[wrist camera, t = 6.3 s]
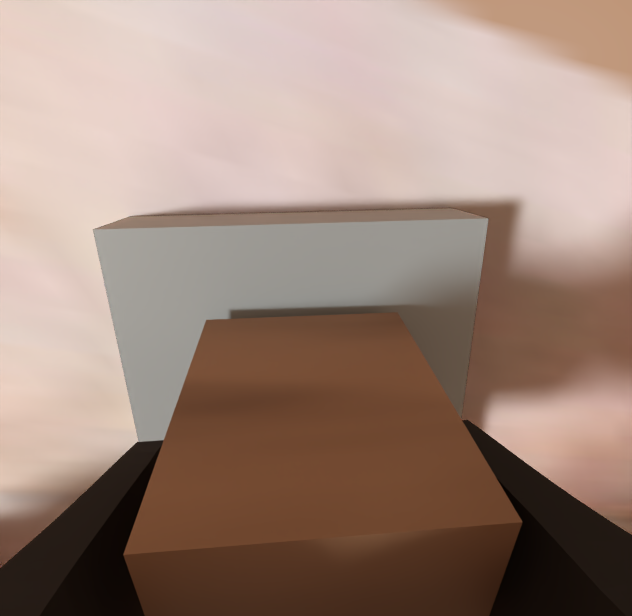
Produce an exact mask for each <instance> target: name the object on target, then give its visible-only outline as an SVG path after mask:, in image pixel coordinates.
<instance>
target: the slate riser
mask: <svg viewBox="0 0 632 616" xmlns="http://www.w3.org/2000/svg"><path fill="white" fill-rule="evenodd" d="M487 226H488V218H485V217H482V216H478V215H475V214H471V213H468V212H464V211H460V210H457V209H453V208H430V209H392V210H353V211H315V212H277V213H239V214H201V215H163V216H130V217H127V218H124V219H121V220H118V221H116V222H113V223H110V224H107V225H104V226H101V227H99V228H96V229H93V232H94V237H95V242H96V246H97V251H98V255H99V260H100V265H101V269H102V274H103V279H104V283H105V288H106V293H107V297H108V302H109V307H110V311H111V316H112V320H113V325H114V330H115V334H116V339H117V344H118V348H119V353H120V358H121V362H122V367H123V371H124V376H125V381H126V385H127V390H128V395H129V399H130V404H131V409H132V413H133V418H134V423H135V427H136V432H137V436H138V441H139V442H143V441H159V440H164V438H165V435H166V432H167V429H168V427H169V424H170V421H171V418H172V415H173V412H174V410H175V407H176V404H177V401H178V398H179V395H180V393H181V390H182V387H183V384H184V381H185V378H186V376H187V373H188V370H189V367H190V364H191V362H192V359H193V356H194V353H195V350H196V347H197V345H198V342H199V339H200V336H201V333H202V330H203V328H204V325H205V322H206V320H213V319H239V318H264V317H290V316H315V315H340V314H366V313H391V312H398V314H399V315H400V317H401V319H402V320H403V322H404V324H405V326H406V327H407V329H408V331H409V332H410V334H411V336H412V337H413V339H414V341H415V342H416V344H417V346H418V347H419V349H420V351H421V352H422V354H423V356H424V357H425V359H426V361H427V362H428V364H429V366H430V367H431V369H432V371H433V373H434V374H435V376H436V378H437V379H438V381H439V383H440V384H441V386H442V388H443V389H444V391H445V393H446V394H447V396H448V398H449V399H450V401H451V403H452V404H453V406H454V408H455V409H456V411H457V413H458V414H459V416H460V418H461V419H462V411H463V404H464V396H465V389H466V381H467V374H468V367H469V359H470V352H471V344H472V337H473V330H474V322H475V315H476V307H477V300H478V293H479V285H480V278H481V270H482V263H483V255H484V248H485V241H486V233H487Z"/></svg>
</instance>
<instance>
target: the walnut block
mask: <svg viewBox="0 0 632 616" xmlns="http://www.w3.org/2000/svg"><path fill="white" fill-rule="evenodd" d="M521 525H522V520H521V519H520V517H519V515H518V513H517V512H516V510H515V508H514V507H513V505H512V503H511V502H510V500H509V498H508V497H507V495H506V493H505V492H504V490H503V488H502V487H501V485H500V483H499V482H498V480H497V478H496V477H495V475H494V473H493V472H492V470H491V468H490V466H489V465H488V463H487V461H486V460H485V458H484V456H483V455H482V453H481V451H480V450H479V448H478V446H477V445H476V443H475V441H474V440H473V438H472V436H471V435H470V433H469V431H468V430H467V428H466V426H465V425H464V423H463V421H462V419H461V418H460V416H459V414H458V413H457V411H456V409H455V408H454V406H453V404H452V403H451V401H450V399H449V398H448V396H447V394H446V393H445V391H444V389H443V388H442V386H441V384H440V383H439V381H438V379H437V378H436V376H435V374H434V373H433V371H432V369H431V367H430V366H429V364H428V362H427V361H426V359H425V357H424V356H423V354H422V352H421V351H420V349H419V347H418V346H417V344H416V342H415V341H414V339H413V337H412V336H411V334H410V332H409V331H408V329H407V327H406V326H405V324H404V322H403V320H402V319H401V317H400V315H399V314H398V312H391V313H366V314H340V315H315V316H290V317H264V318H239V319H213V320H206V322H205V325H204V328H203V330H202V333H201V336H200V339H199V342H198V345H197V347H196V350H195V353H194V356H193V359H192V362H191V364H190V367H189V370H188V373H187V376H186V378H185V381H184V384H183V387H182V390H181V393H180V395H179V398H178V401H177V404H176V407H175V410H174V412H173V415H172V418H171V421H170V424H169V427H168V429H167V432H166V435H165V438H164V441H163V444H162V446H161V449H160V452H159V455H158V458H157V461H156V463H155V466H154V469H153V472H152V475H151V478H150V480H149V483H148V486H147V489H146V492H145V495H144V497H143V500H142V503H141V506H140V509H139V512H138V514H137V517H136V520H135V523H134V526H133V529H132V531H131V534H130V537H129V540H128V543H127V546H126V548H125V551H124V554H123V556H124V558H125V561H126V564H127V567H128V570H129V573H130V575H131V578H132V581H133V584H134V587H135V589H136V592H137V595H138V598H139V601H140V604H141V606H142V609H143V612H144V615H145V616H489V615H490V612H491V609H492V606H493V604H494V601H495V598H496V595H497V592H498V590H499V587H500V584H501V581H502V578H503V576H504V573H505V570H506V567H507V564H508V562H509V559H510V556H511V553H512V550H513V548H514V545H515V542H516V539H517V536H518V534H519V531H520V528H521Z"/></svg>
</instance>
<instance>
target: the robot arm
mask: <svg viewBox="0 0 632 616" xmlns="http://www.w3.org/2000/svg"><path fill="white" fill-rule="evenodd" d="M462 421H463V423H464V425H465V426H466V428H467V430H468V431H469V433H470V435H471V436H472V438H473V440H474V441H475V443H476V445H477V446H478V448H479V450H480V451H481V453H482V455H483V456H484V458H485V460H486V461H487V463H488V465H489V466H490V468H491V470H492V472H493V473H494V475H495V477H496V478H497V480H498V482H499V483H500V485H501V487H502V488H503V490H504V492H505V493H506V495H507V497H508V498H509V500H510V502H511V503H512V505H513V507H514V508H515V510H516V512H517V513H518V515H519V517H520V519H521V520H522V525H521V528H520V531H519V534H518V536H517V539H516V542H515V545H514V548H513V550H512V553H511V556H510V559H509V562H508V564H507V567H506V570H505V573H504V576H503V578H502V581H501V584H500V587H499V590H498V592H497V595H496V598H495V601H494V604H493V606H492V609H491V612H490V615H489V616H632V535H631V534H629V533H628V532H626V531H624V530H623V529H621V528H620V527H618V526H616V525H615V524H613V523H612V522H610V521H609V520H607V519H606V518H604V517H603V516H601V515H600V514H598V513H597V512H595V511H594V510H592V509H591V508H589V507H588V506H586V505H585V504H583V503H582V502H580V501H579V500H577V499H576V498H574V497H573V496H571V495H570V494H568V493H567V492H566V491H564V490H563V489H561V488H560V487H558V486H557V485H556V484H554V483H553V482H551V481H550V480H549V479H547V478H546V477H544V476H543V475H542V474H540V473H539V472H537V471H536V470H535V469H533V468H532V467H531V466H529V465H528V464H527V463H525V462H524V461H522V460H521V459H520V458H518V457H517V456H516V455H514V454H513V453H512V452H510V451H509V450H508V449H506V448H505V447H504V446H502V445H501V444H500V443H498V442H497V441H496V440H494V439H493V438H492V437H490V436H489V435H488V434H486V433H485V432H484V431H482V430H481V429H479V428H478V427H477V426H475V425H474V424H472V423H471V422H470V421H468V420H462ZM163 441H164V440H159V441H143V442H137V443H136V444H135V445H134V446H133V447H131V448H130V449H129V450H128V451H127V452H126V453H125V454H124V455H123V456H122V457H121V458H120V459H119V460H118V461H117V462H116V463H115V464H114V465H113V466H112V467H111V468H110V469H108V470H107V471H106V472H105V473H104V474H103V475H102V476H101V477H100V478H99V479H98V480H97V481H96V482H95V483H94V484H93V485H92V486H91V487H90V488H89V489H88V490H87V491H86V492H85V493H83V494H82V495H81V496H80V497H79V498H78V499H77V500H76V501H75V502H74V503H73V504H72V505H71V506H70V507H69V508H68V509H66V510H65V511H64V512H63V513H62V514H61V515H60V516H59V517H58V518H57V519H56V520H55V521H54V522H52V523H51V524H50V525H49V526H48V527H47V528H46V529H45V530H43V531H42V532H41V533H40V534H39V535H38V536H37V537H35V538H34V539H33V540H32V541H31V542H30V543H29V544H27V545H26V546H25V547H24V548H23V549H22V550H21V551H19V552H18V553H17V554H16V555H15V556H14V557H13V558H11V559H10V560H9V561H8V562H7V563H6V564H5V565H3V566H2V567H1V568H0V616H145V615H144V612H143V609H142V606H141V604H140V601H139V598H138V595H137V592H136V589H135V587H134V584H133V581H132V578H131V575H130V573H129V570H128V567H127V564H126V561H125V558H124V556H123V554H124V551H125V548H126V546H127V543H128V540H129V537H130V534H131V531H132V529H133V526H134V523H135V520H136V517H137V514H138V512H139V509H140V506H141V503H142V500H143V497H144V495H145V492H146V489H147V486H148V483H149V480H150V478H151V475H152V472H153V469H154V466H155V463H156V461H157V458H158V455H159V452H160V449H161V446H162V444H163Z"/></svg>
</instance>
